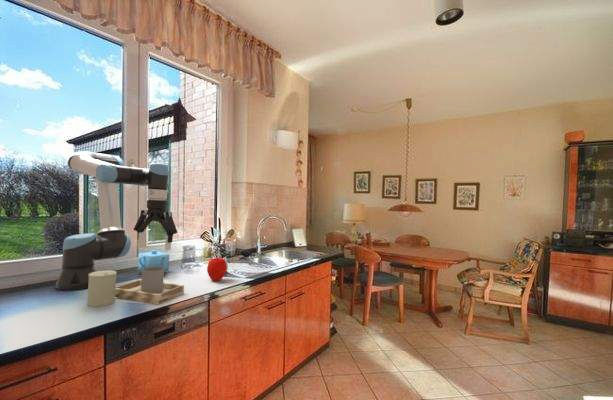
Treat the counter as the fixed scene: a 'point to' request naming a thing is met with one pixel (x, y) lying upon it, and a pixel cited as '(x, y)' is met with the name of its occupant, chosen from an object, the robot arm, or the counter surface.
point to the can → (101, 288)
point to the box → (134, 292)
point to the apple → (216, 268)
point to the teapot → (153, 260)
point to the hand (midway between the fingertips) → (154, 248)
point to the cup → (152, 280)
